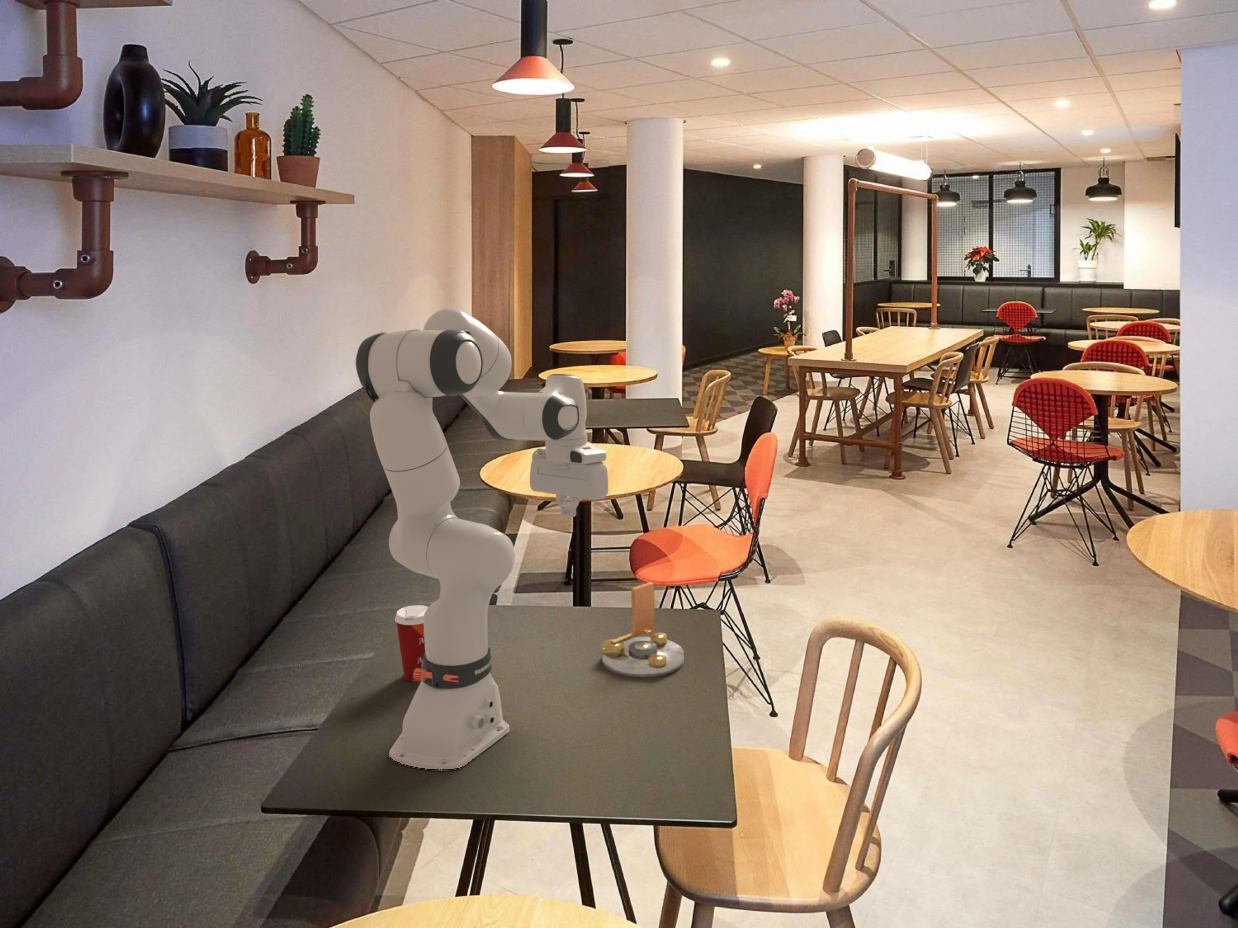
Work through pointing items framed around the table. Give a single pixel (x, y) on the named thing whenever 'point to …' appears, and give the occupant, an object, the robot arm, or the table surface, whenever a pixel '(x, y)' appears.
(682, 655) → the levelling base
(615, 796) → the table surface
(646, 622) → the vane knob
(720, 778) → the table surface
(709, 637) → the table surface
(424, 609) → the paper cup
